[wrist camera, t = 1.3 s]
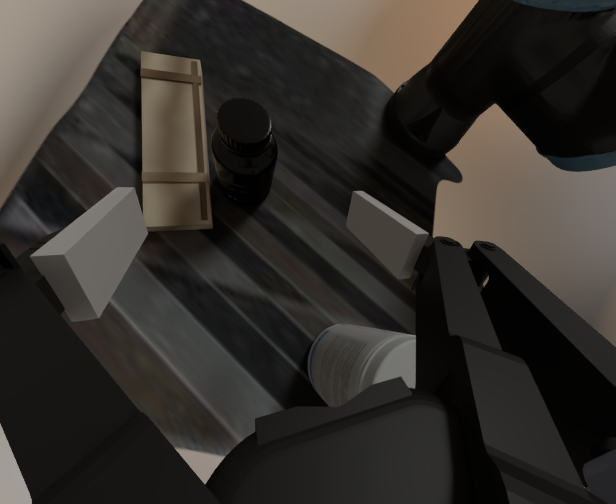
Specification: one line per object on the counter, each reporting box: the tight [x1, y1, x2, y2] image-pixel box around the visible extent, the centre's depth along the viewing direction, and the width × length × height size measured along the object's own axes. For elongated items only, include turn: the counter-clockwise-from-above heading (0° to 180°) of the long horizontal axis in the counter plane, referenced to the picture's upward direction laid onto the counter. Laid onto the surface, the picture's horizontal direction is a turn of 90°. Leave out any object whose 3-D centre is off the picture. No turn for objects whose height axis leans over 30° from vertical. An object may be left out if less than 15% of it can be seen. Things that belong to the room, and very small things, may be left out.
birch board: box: [141, 51, 213, 232], centre depth 29 cm, size 7×24×2 cm, turn 9°
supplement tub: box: [308, 324, 416, 407], centre depth 23 cm, size 10×10×15 cm
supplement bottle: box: [211, 98, 278, 207], centre depth 26 cm, size 7×7×12 cm
